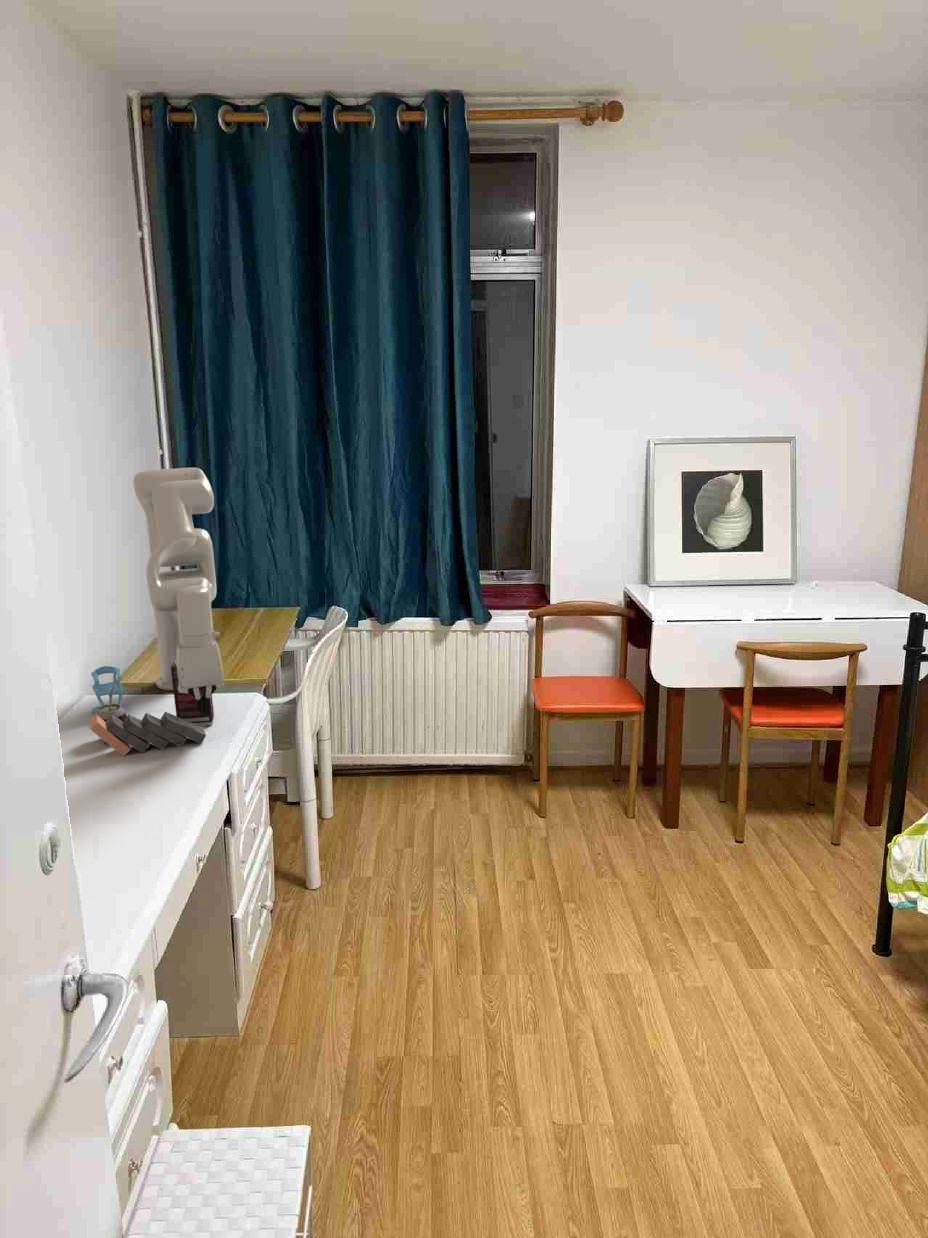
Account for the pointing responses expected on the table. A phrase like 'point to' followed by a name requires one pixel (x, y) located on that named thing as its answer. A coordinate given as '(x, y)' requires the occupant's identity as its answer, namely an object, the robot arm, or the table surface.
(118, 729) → the domino
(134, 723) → the domino
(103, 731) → the rust domino
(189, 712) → the supplement box
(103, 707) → the mate gourd
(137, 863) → the table surface
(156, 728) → the domino
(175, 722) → the domino
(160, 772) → the table surface
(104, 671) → the chair
